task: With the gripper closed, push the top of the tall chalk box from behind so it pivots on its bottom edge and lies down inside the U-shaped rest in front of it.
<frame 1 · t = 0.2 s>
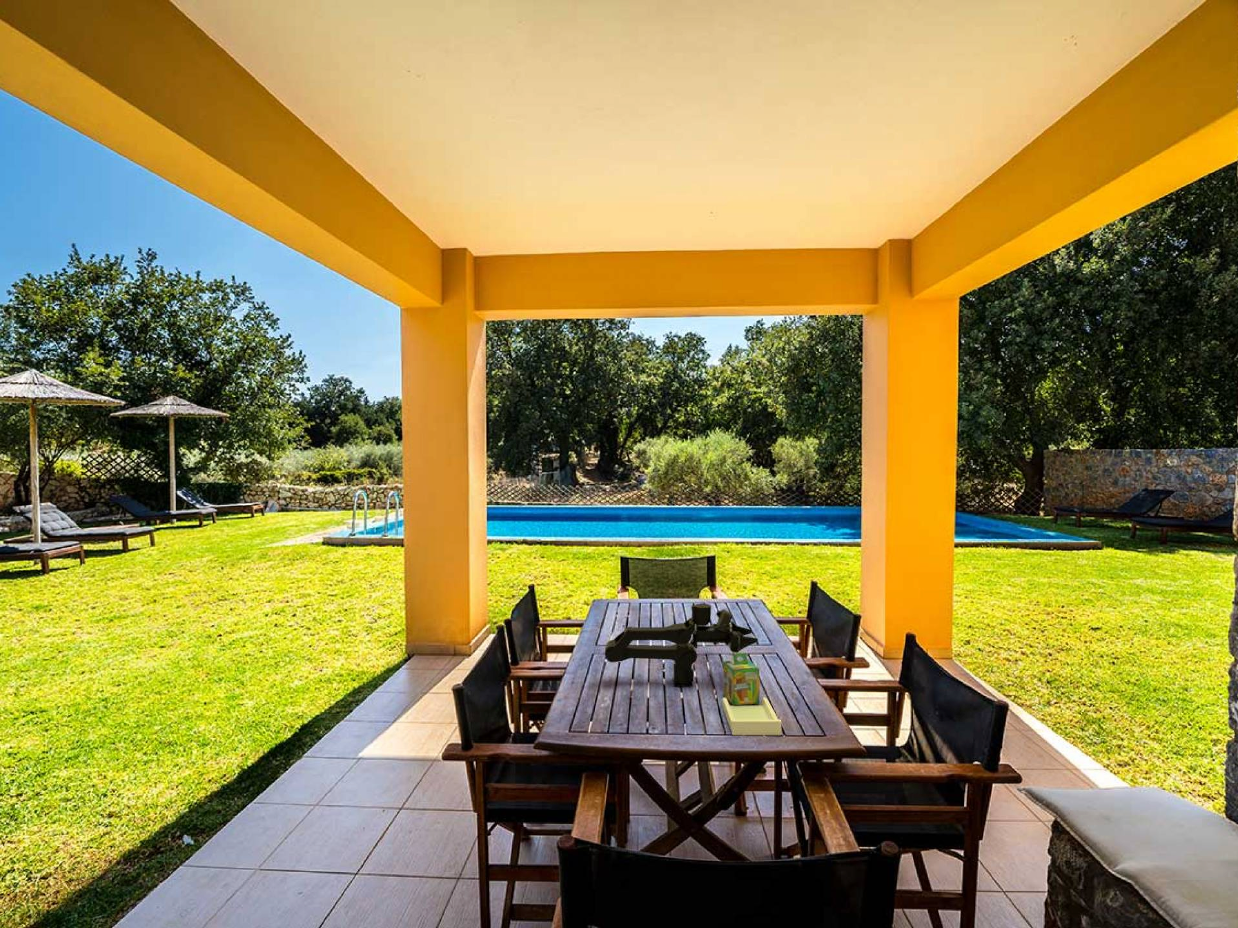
hand: (754, 635, 206), 17 cm above the table, tool horizontal, fingers open, 9 cm apart
chalk box: (741, 700, 193), on the table, touching u rest
u rest: (750, 719, 179), on the table
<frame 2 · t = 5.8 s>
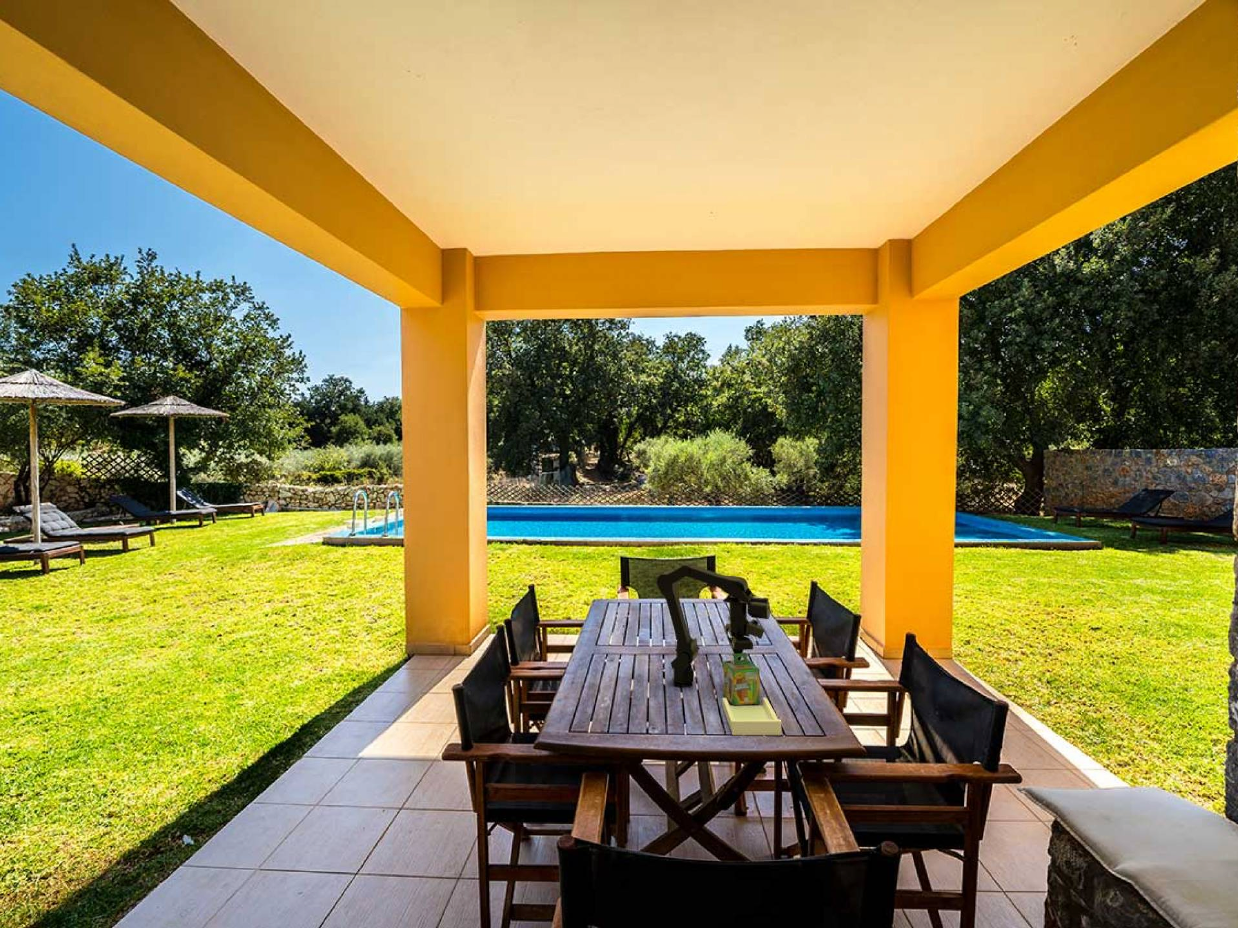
hand: (738, 661, 198), 11 cm above the table, tool pointing down, fingers closed
chalk box: (741, 700, 193), on the table, touching gripper, u rest
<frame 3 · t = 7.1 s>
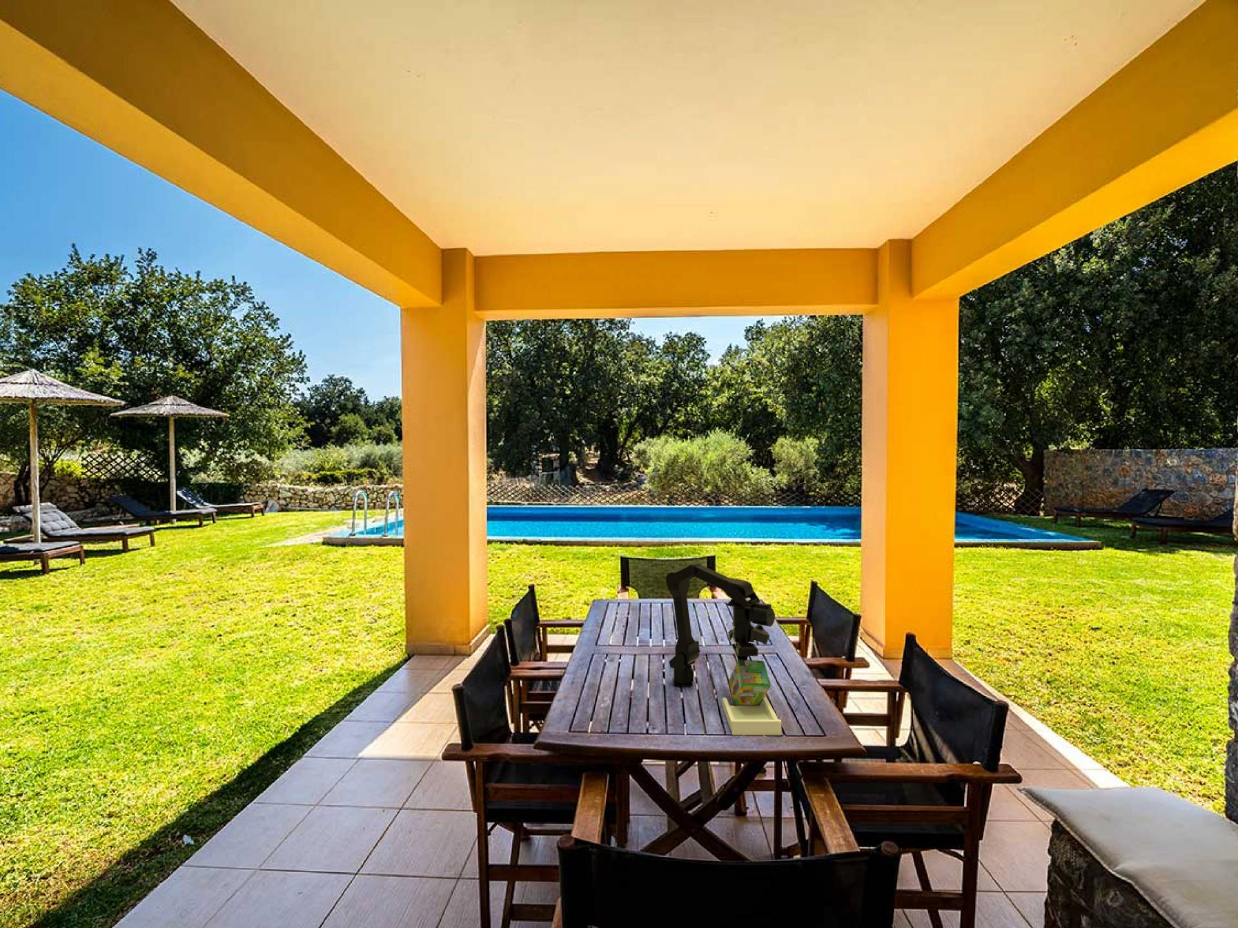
hand: (742, 668, 191), 11 cm above the table, tool pointing down, fingers closed
chalk box: (744, 693, 192), point 3 cm above the table, touching gripper, u rest
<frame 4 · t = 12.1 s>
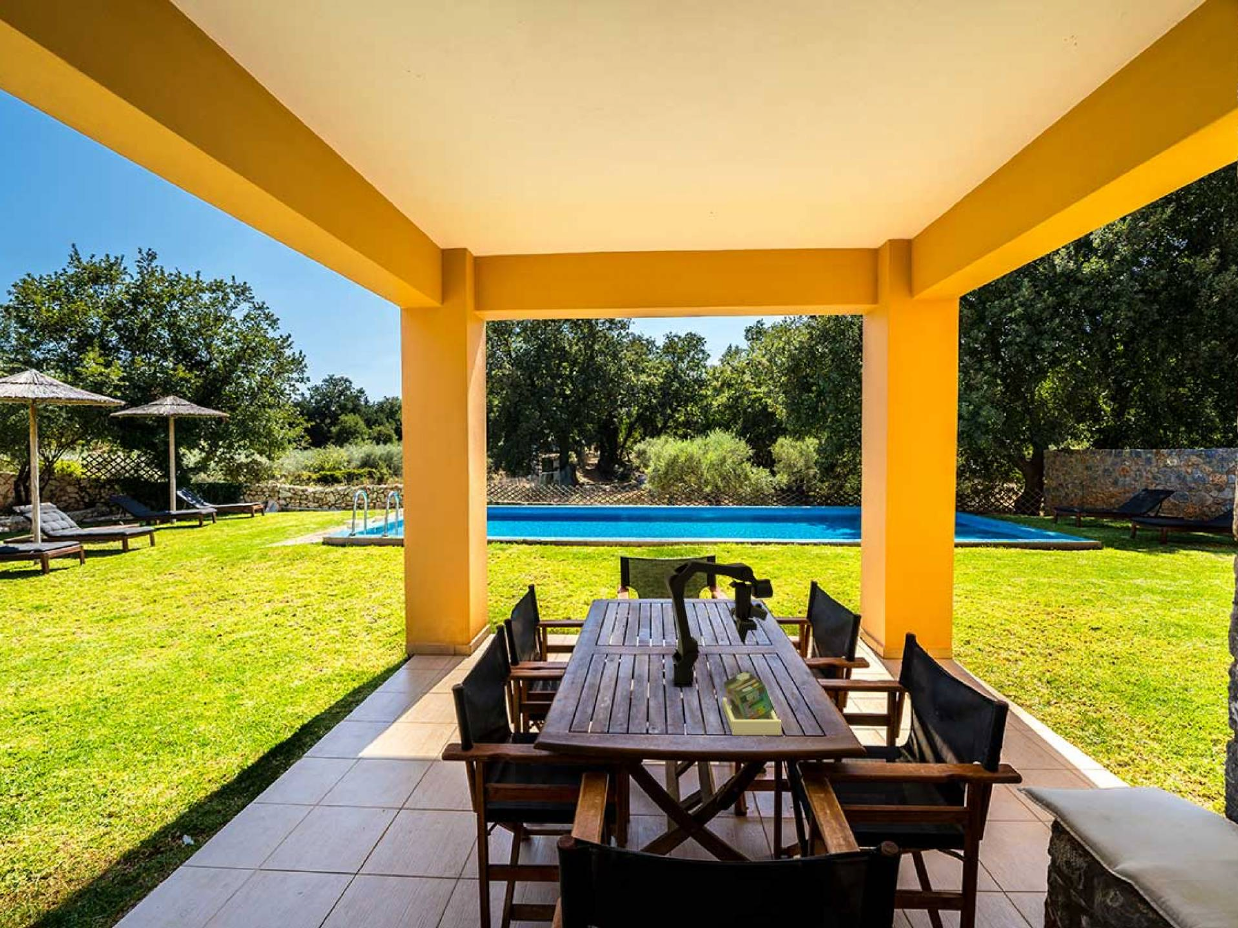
hand: (742, 642, 210), 13 cm above the table, tool pointing down, fingers closed
chalk box: (739, 687, 188), point 6 cm above the table, touching u rest
at the end: chalk box tilted 91°; chalk box inside the target area (2.0 cm from its centre), point 6.2 cm above the table; chalk box touching u rest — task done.
